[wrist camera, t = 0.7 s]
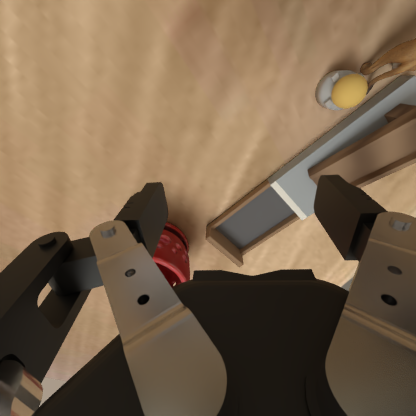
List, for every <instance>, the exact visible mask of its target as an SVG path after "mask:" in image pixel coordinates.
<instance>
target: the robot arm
mask: <svg viewBox="0 0 416 416" xmlns="http://www.w3.org/2000/svg"><path fill="white" fill-rule="evenodd" d="M314 212H315V215H316V217H317V218H318V220H319V221H320V223H321V224H322V226H323V227H324V229H325V230H326V232H327V233H328V235H329V237H330V238H331V240H332V241H333V243H334V244H335V246H336V247H337V249H338V250H339V252H340V253H341V255H342V257H343V258H344V260H358V261H359V264H358V267H357V269H356V272H355V275H354V277H353V280H352V283H351V285H350V288H349V291H347V290H345V289H343V288H341V287H339V286H337V285H335V284H332V283H329V282H326V281H323V280H319V279H316V278H315V276H314V274H313V272H312V269H299V270H278V271H273V272H269V273H264V274H260V275H255V276H249V275H244V274H238V273H233V272H228V271H223V270H202V271H194V274H193V280H188V281H185V282H183V283H180V284H178V285H176V286H174V287H172V288H171V286H170V285H169V283H168V282H167V280H166V279H165V277H164V275H163V274H162V272H161V271H160V269H159V268H158V266H157V265H156V263H155V262H154V260H153V259H152V258H153V256H154V253H155V250H156V248H157V245H158V242H159V240H160V237H161V235H162V232H163V229H164V227H165V224H166V221H167V218H168V207H167V202H166V197H165V192H164V187H163V184H162V183H161V182H156V183H147V184H146V185H145V186H144V188H143V189H142V191H141V192H137V193H136V194H134V195H133V196H132V197H130V199H129V200H128V201H127V204H125V205H124V207H123V208H122V209H121V211H120V212H119V213H118V215H117V216H116V218H115V219H114V220H113V221H108V222H104V223H102V224H100V225H98V226H96V227H95V228H94V229H93V230H92V231H91V232H90V235H89V237H87V238H83V239H78V240H74V241H71V240H70V238H69V236H68V235H67V233H65V232H54V233H50V234H47V235H44V236H42V237H40V238H38V239H36V240H35V241H33V242H32V243H31V244H30V245H29V246H28V247H27V248H26V249H25V250H24V251H23V252H22V253H20V254H19V255H18V256H17V257H16V258H15V259H14V260H13V261H12V262H11V263H10V264H9V265H8V266H7V267H6V268H5V269H4V270H3V271H2V272H1V273H0V416H416V218H414V217H412V216H410V215H407V214H403V213H398V212H388V211H386V210H385V209H384V208H383V207H382V206H380V205H379V204H378V203H377V202H376V201H375V200H372V198H371V197H370V196H369V195H366V193H365V192H364V191H363V190H362V189H360V188H358V187H356V186H354V185H352V184H349V183H348V182H347V181H345V180H344V179H343V178H342V177H341V176H340V175H338V174H335V175H321V176H320V178H319V180H318V185H317V190H316V195H315V200H314ZM47 283H49V285H50V286H51V288H52V290H51V291H50V292H49V294H48V295H47V297H46V298H45V299H44V301H43V302H42V304H41V305H40V306H39V308H38V305H37V300H38V296H39V294H40V292H41V291H42V289H43V288H44V287H45V286H46V284H47ZM103 285H104V287H105V290H106V294H107V297H108V300H109V303H110V306H111V309H112V312H113V315H114V318H115V321H116V324H117V327H118V330H119V333H120V334H119V335H117V336H116V337H115V338H114V339H113V340H112V341H111V342H110V343H109V344H108V345H107V346H105V347H104V348H103V349H102V350H101V351H100V352H99V353H98V354H97V355H96V356H94V357H93V358H92V359H91V360H90V361H89V362H88V363H87V364H86V365H85V366H83V367H82V368H81V369H80V370H79V371H78V372H77V373H76V374H75V375H74V376H72V377H71V378H70V379H69V380H68V381H67V382H66V383H65V384H64V385H63V386H61V388H59V389H58V390H57V391H56V392H55V393H54V394H53V395H52V396H51V397H49V399H47V400H46V401H45V402H44V403H43V404H42V405H41V406H40V407H39V405H40V403H41V399H42V394H43V389H42V385H41V383H42V381H43V379H44V377H45V375H46V373H47V371H48V370H49V368H50V366H51V364H52V362H53V360H54V358H55V356H56V355H57V353H58V351H59V349H60V347H61V345H62V343H63V342H64V340H65V338H66V336H67V334H68V332H69V330H70V328H71V327H72V325H73V323H74V321H75V319H76V317H77V315H78V313H79V312H80V310H81V308H82V306H83V304H84V302H85V300H86V299H87V297H88V295H89V293H90V291H91V289H92V288H96V287H99V286H103Z"/></svg>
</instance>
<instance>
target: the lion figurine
mask: <svg viewBox="0 0 416 416" xmlns="http://www.w3.org/2000/svg"><path fill="white" fill-rule="evenodd" d="M388 63H393V66H392V70H391V71H388V72H386V73H384V74H382V75H379V76H377V77H376V78H374V79H373V80H372V81H371V82H370V83H369V84H368V90H367V93H366V95H367V94H368V92H369V91H370V90H371V88H372V87H373V85H374V83H375V82H377V81H379V80H381V79H384V78H387V77H390V76H393V75H396V74H399V73H402V72H404V71H415V70H416V38H415V39H414V40H410V41H407V42H404V43H402V44H400V45H398V46H396V47H395V48H393V49H391V50H389V51H388V52H387V53H385V54H384V55H383V56H382V57H381V58H379V59H378V60H377V61H376V62H375V63H373V64H372V63H365V64H363V65H362V67H361V69H360V71H361V73H362V74H363V75H368V74H370V73H373V72H374V71H376V70H377V69H378V68H379V67H381V66H383V65H385V64H388Z"/></svg>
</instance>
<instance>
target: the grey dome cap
mask: <svg viewBox="0 0 416 416" xmlns="http://www.w3.org/2000/svg"><path fill="white" fill-rule="evenodd" d="M349 74H356V73H355V72H353V71H350V70H340V71H332V72H330V73H328V74H326V75H325V76H324V77H323V78H322V79H321V80H320V82H319V83H318V85H317V88H316V92H315V97H316V100H317V102H318V104H319V105H320V106H322V107H325V108H328V109H332V110H341V109H344V108H339V107H337V106H336V105H335V104H334V103H333V101H332V98H331V93H332V89H333V87H334V85H335V84H336V83H337V81H338V80H340V79H341V78H342V77H344V76H346V75H349ZM358 74H359V75H361V76H363V74H362V73H358ZM363 77H364V76H363ZM351 108H352V107H351ZM351 108H350V109H351Z"/></svg>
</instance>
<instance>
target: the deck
mask: <svg viewBox="0 0 416 416" xmlns="http://www.w3.org/2000/svg"><path fill="white" fill-rule="evenodd" d="M400 103H401V104H408V105H415V106H416V77H415V75H413V76H399V77H398V78H397V79H396V80H394V81H393V82H392V83H390V84H389V85H388V86H387V87H385V88H384V89H383V90H381V91H380V92H379V93H377V94H376V95H375V96H374V97H372V98H371V99H370V100H368V101H367V102H366V103H365V104H363V105H362V106H361V107H359V108H358V109H357V110H356V111H354V112H353V113H352V114H350V115H349V116H348V117H347V118H345V119H344V120H343V121H341V122H340V123H339V124H338V125H336V126H335V127H334V128H332V129H331V130H330V131H328V132H327V133H326V134H325V135H323V136H322V137H321V138H319V139H318V140H317V141H316V142H314V143H313V144H312V145H310V146H309V147H308V148H307V149H305V150H304V151H303V152H301V153H300V154H299V155H298V156H296V157H295V158H294V159H292V160H291V161H290V162H289V163H287V164H286V165H285V166H283V167H282V168H281V169H279V170H278V171H277V172H276V173H274V174H273V175H272V176H270V177H269V178H268V181H269V184H270V185H271V186H272V188H273V189H274V190H275V191H276V192H277V193H278V194H279V195H280V196H281V198H282V199H283V200H284V201H285V202H286V203H287V204H288V205H289V207H290V208H291V209H292V210H293V211H294V212H295V213H296V214H297V215H298V217H299V218H300V219H301V220H304V219H305V218H307V217H308V216H310V215H311V214H313V213H314V200H315V195H316V190H317V185H316V184H315V183H314V181H313V180H311V179H310V178H309V175H308V171H307V170H308V169H310V168H312V167H313V166H315V165H317V164H318V163H320V162H322V161H324V160H325V159H327V158H329V157H331V156H332V155H334V154H336V153H338V152H339V151H341V150H343V149H345V148H346V147H348V146H350V145H351V144H353V143H355V142H357V141H358V140H360V139H362V138H364V137H365V136H367V135H369V134H371V133H372V132H374V131H376V130H378V129H379V128H381V127H383V126H384V125H386V124H388V121H387V120H386V118H385V116H384V115H385V114H386V113H388V112H389V111H390V110H392V109H393V108H395V107H396V106H397V105H399V104H400Z"/></svg>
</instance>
